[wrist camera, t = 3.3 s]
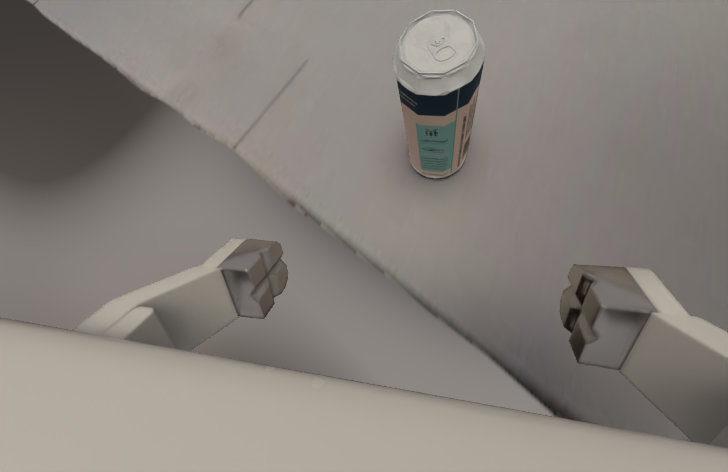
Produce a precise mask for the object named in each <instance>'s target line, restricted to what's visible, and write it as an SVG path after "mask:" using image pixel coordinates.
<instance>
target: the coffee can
mask: <svg viewBox="0 0 728 472" xmlns="http://www.w3.org/2000/svg"><path fill="white" fill-rule="evenodd" d="M484 58H485V47H484V42H483V40H482V38H481V36H480V34H479V32H478V30H477V28H476V27H475V24H474V21H473V20H472V19H470V18H468V17H467V16H465V15H463V14H462V13H460V12H458V11H457V10H431V11H429V12H427V13H426V14H424V15H422V16H420V17H419V18H417V19H415V20H413V21H411V22H410V23H409V25H408V26H407V28H406V30H405V31H404V33H403V35H402V36H401V38H400V40H399V44H398V46H397V47H396V49H395V52H394V56H393V70H394V73H395V76H396V78H397V83H398V88H399V94H400V100H401V106H402V112H403V117H404V123H405V129H406V135H407V141H408V146H409V158H410V162H411V164H412V166H413V167H414V169H415V170H416V171H417V172H418V173H420V174H422V175H423V176H426V177H430V178H442V177H446V176H449V175H451V174H453V173H454V172H456V171H457V170H458V169H459V168H460V167H461V166H462V165H463V163H464V161H465V159H466V155H467V151H468V145H469V140H470V134H471V129H472V123H473V118H474V112H475V107H476V101H477V96H478V90H479V85H480V80H481V74H482V69H483V63H484Z"/></svg>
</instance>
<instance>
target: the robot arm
mask: <svg viewBox="0 0 728 472" xmlns="http://www.w3.org/2000/svg"><path fill="white" fill-rule="evenodd" d="M282 255H283V250H282V247H281V245H280V244H279V243H278V242H276V241H265V240H255V239H244V238H233V239H231V240H230V241H228V242H227V243H226V244H225V245H224V246H223V247H222V248H220V249H219V250H218V251H217V252H216V253H215V254H214V255H213V256H211V257H210V258H209V259H208V260H207V261H206V262H205V263H204V264H203V265H201V266H195V267H192V268H190V269H187V270H185V271H183V272H180V273H177V274H175V275H172V276H170V277H168V278H165V279H162V280H160V281H157V282H155V283H153V284H150V285H148V286H145V287H143V288H140V289H138V290H135V291H133V292H130V293H127V294H125V295H123V296H120V297H118V298H115V299H113V300H110V301H109V302H108V303H107V304H105V305H104V306H103V307H101V308H100V309H99V310H97V311H96V312H95V313H93V314H92V315H91V316H89V317H88V318H87V319H86V320H84V321H83V322H82V323H80V324H79V325H78V326H76V327H75V328H74V329H72V330H68V329H62V328H57V327H51V326H46V325H40V324H34V323H29V322H23V321H18V320H12V319H6V318H0V472H728V332H726V331H724V330H723V329H721V328H719V327H717V326H715V325H713V324H711V323H709V322H708V321H706V320H704V319H702V318H700V317H694V316H690V315H689V314H688V313H687V311H686V310H685V309H684V308H683V307H682V306H681V304H680V303H679V302H678V301H677V300H676V299H675V297H674V296H673V295H672V294H671V293H670V291H669V290H668V289H667V288H666V287H665V286H664V284H663V283H662V282H661V281H660V280H659V278H658V277H657V276H656V275H655V274H654V273H653V271H651V270H649V269H647V268H638V267H611V266H595V265H578V264H574V265H573V266H572V268H571V269H570V272H569V275H568V279H569V281H570V283H571V286H569V287H568V288H566V289H565V290H564V291H563V293H562V297H561V300H560V315H561V320H562V323H563V326H564V327H565V328H566V329H567V330H569V331H570V332H571V333H572V334H571V337H570V340H569V342H570V344H571V347H572V350H573V352H574V355H575V357H576V360H577V363H579V364H585V365H591V366H597V367H604V368H610V369H616V370H620V371H619V372H620V373H621V374H622V375H623V376H624V377H625V378H626V379H627V380H628V381H629V382H631V383H632V384H633V385H634V386H635V387H636V388H637V389H638V390H639V391H640V392H641V393H642V394H643V395H644V396H645V397H646V398H647V399H648V400H649V401H650V402H652V403H653V404H654V405H655V406H656V407H657V408H658V409H659V410H660V411H661V412H662V413H663V414H664V415H665V416H666V417H667V418H668V419H669V420H670V421H671V422H673V423H674V424H675V425H676V426H677V427H678V428H679V429H680V430H681V431H682V432H683V433H684V434H685V435H686V436H687V437H688V438H689V439H690V440H691V441H686V440H681V439H675V438H669V437H664V436H658V435H653V434H647V433H642V432H636V431H630V430H625V429H619V428H614V427H608V426H603V425H597V424H591V423H586V422H580V421H575V420H569V419H564V418H558V417H552V416H547V415H541V414H536V413H530V412H525V411H519V410H514V409H508V408H502V407H497V406H491V405H485V404H480V403H475V402H468V401H463V400H458V399H452V398H446V397H441V396H436V395H430V394H425V393H419V392H414V391H408V390H402V389H397V388H391V387H386V386H380V385H374V384H369V383H363V382H358V381H352V380H346V379H341V378H335V377H330V376H324V375H318V374H313V373H307V372H302V371H296V370H290V369H285V368H280V367H274V366H269V365H263V364H257V363H252V362H246V361H241V360H235V359H230V358H224V357H218V356H213V355H207V354H201V353H196V352H191V350H192V349H194V348H195V347H196V346H198V345H200V344H201V343H202V342H204V341H205V340H207V339H208V338H210V337H211V336H213V335H214V334H216V333H217V332H219V331H220V330H221V329H223V328H224V327H226V326H227V325H229V324H230V323H231V322H233V321H235V320H236V319H237V318H239V317H238V316H241V317H250V318H259V319H264V318H265V317H266V315H267V314H268V312H269V311H270V309H271V308H272V307H273V305H274V297H276V296H278V295H280V294H281V293H282V292H283V290H284V289H285V286H286V283H287V279H288V270H287V266H286V264H285V263H284V262H283V261H282V260H281V259H280V258H281V257H282Z"/></svg>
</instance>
